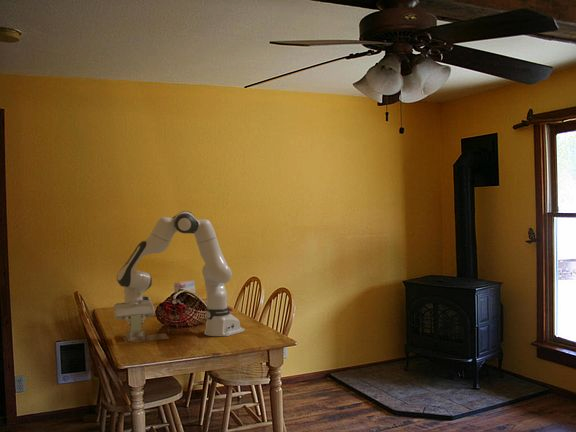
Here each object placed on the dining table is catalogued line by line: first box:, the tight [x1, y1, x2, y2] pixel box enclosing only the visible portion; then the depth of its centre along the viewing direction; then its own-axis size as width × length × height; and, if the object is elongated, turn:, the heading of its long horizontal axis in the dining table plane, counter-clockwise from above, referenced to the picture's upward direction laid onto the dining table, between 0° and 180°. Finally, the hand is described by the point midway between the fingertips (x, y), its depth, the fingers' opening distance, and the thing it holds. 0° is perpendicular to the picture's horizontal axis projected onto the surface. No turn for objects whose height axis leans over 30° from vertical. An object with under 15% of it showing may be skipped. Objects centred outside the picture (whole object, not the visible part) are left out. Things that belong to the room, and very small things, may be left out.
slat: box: [130, 315, 142, 333], centre depth 280 cm, size 5×2×10 cm, turn 112°
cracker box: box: [173, 279, 196, 295], centre depth 349 cm, size 14×6×21 cm, turn 149°
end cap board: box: [122, 328, 170, 344], centre depth 282 cm, size 22×12×6 cm, turn 112°
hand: (136, 324), depth 279 cm, fingers closed on slat, 5 cm apart
